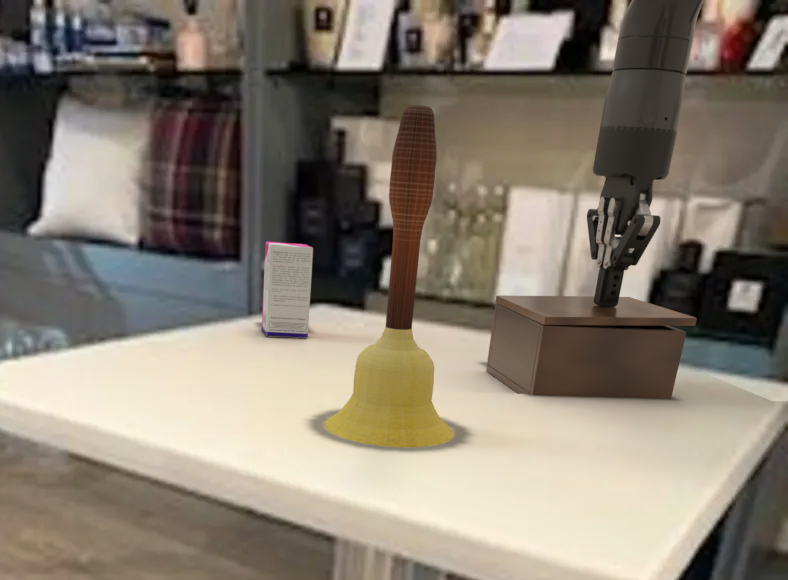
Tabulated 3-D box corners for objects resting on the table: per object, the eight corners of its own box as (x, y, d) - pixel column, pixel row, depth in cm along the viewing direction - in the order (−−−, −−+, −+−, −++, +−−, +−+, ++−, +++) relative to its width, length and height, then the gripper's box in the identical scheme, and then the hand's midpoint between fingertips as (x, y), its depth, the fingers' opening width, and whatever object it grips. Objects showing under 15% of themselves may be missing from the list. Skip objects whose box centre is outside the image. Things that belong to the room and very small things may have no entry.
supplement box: (309, 338, 117) (313, 246, 112) (265, 337, 116) (267, 244, 111) (303, 331, 122) (306, 242, 117) (260, 329, 121) (262, 240, 116)
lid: (627, 303, 104) (629, 296, 103) (695, 325, 90) (697, 317, 90) (495, 302, 101) (496, 295, 101) (543, 325, 87) (545, 316, 87)
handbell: (432, 469, 68) (475, 101, 57) (292, 441, 72) (306, 94, 61) (477, 434, 78) (521, 116, 67) (352, 412, 83) (374, 110, 72)
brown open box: (607, 375, 107) (620, 308, 104) (669, 406, 94) (686, 331, 90) (485, 371, 105) (495, 303, 101) (531, 403, 91) (543, 325, 88)
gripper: (707, 126, 83) (665, 316, 90) (643, 130, 94) (611, 298, 102) (634, 120, 81) (597, 313, 89) (577, 125, 93) (550, 295, 101)
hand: (604, 305), depth 95 cm, fingers closed
